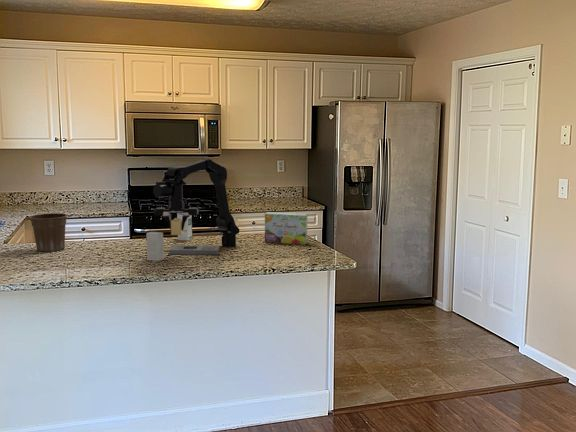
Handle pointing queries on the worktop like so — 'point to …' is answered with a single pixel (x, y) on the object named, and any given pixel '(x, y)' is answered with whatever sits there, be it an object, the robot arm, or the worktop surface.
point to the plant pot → (49, 231)
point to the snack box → (286, 228)
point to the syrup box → (186, 228)
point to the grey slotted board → (194, 250)
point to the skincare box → (155, 246)
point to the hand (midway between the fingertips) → (177, 230)
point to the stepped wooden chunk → (176, 227)
